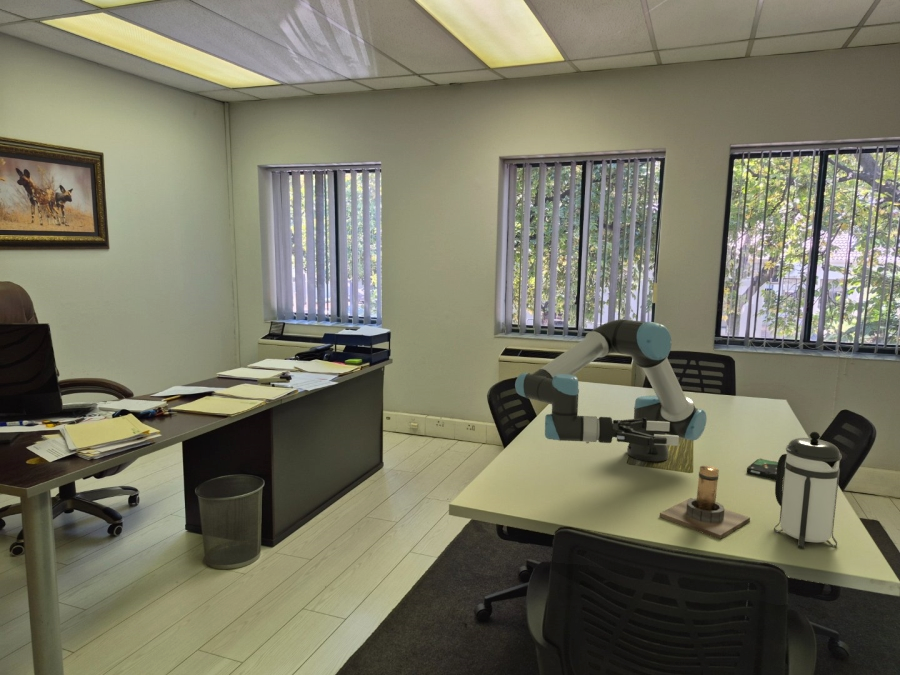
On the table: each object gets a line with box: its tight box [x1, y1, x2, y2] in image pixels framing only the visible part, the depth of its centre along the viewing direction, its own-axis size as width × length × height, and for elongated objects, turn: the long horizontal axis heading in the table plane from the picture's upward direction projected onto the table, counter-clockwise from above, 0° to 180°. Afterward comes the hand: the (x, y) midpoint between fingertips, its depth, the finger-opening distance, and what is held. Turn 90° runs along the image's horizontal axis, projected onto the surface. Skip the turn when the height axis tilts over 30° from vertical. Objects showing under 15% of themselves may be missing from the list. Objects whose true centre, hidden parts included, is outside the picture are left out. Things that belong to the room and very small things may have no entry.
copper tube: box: [696, 465, 720, 511], centre depth 173 cm, size 5×5×14 cm
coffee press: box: [773, 431, 843, 550], centre depth 162 cm, size 17×16×30 cm
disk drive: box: [746, 458, 785, 481], centre depth 215 cm, size 10×3×15 cm
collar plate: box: [659, 497, 751, 540], centre depth 174 cm, size 18×18×4 cm
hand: (673, 433), depth 172 cm, fingers open, 13 cm apart
